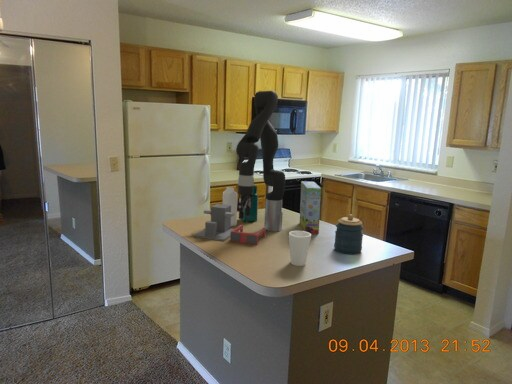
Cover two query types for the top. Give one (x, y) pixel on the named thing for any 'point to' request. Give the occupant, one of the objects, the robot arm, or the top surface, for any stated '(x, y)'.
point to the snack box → (310, 207)
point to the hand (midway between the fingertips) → (244, 217)
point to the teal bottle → (252, 208)
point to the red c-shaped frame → (246, 236)
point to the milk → (231, 203)
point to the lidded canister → (348, 235)
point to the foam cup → (299, 247)
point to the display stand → (217, 223)
